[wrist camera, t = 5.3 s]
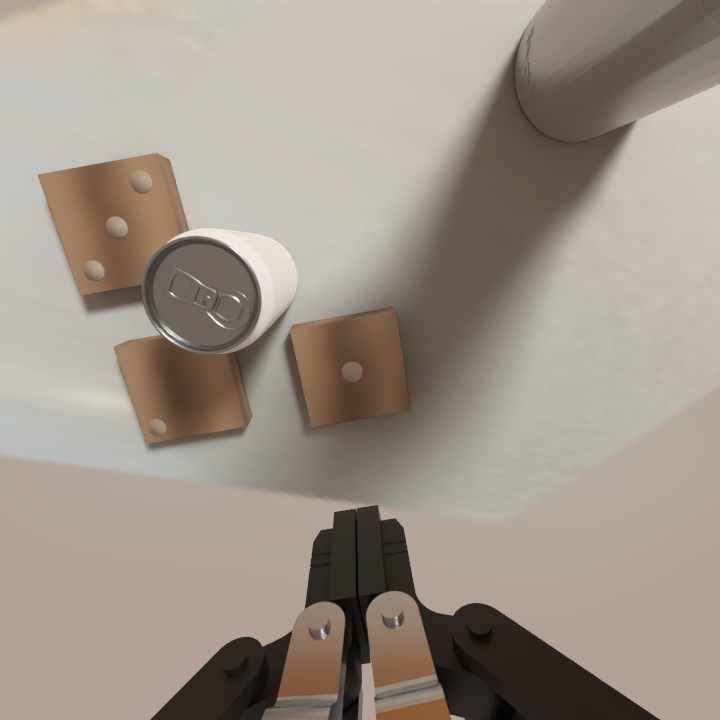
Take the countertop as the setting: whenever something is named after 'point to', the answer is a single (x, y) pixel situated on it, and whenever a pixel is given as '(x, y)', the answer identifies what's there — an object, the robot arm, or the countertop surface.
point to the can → (217, 289)
